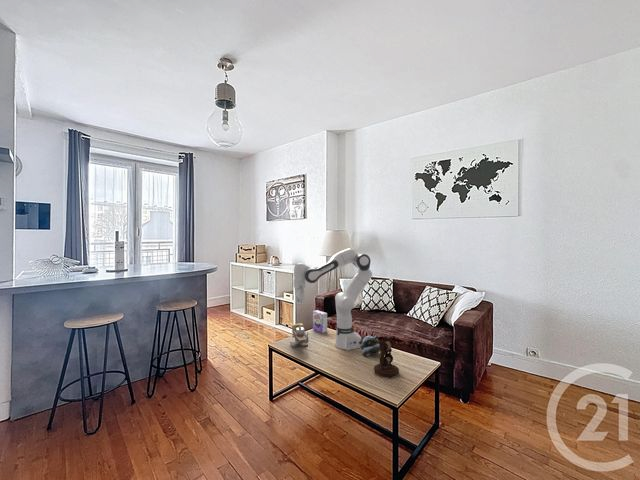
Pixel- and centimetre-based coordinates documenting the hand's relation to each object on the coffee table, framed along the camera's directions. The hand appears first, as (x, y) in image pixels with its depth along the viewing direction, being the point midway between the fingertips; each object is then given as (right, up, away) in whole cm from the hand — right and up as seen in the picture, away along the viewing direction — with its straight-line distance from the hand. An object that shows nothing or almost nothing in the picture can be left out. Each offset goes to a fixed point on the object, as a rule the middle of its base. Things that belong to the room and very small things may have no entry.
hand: (299, 303), depth 224 cm
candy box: (+15, -32, +35) cm, 49 cm away
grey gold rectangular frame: (+1, -32, -4) cm, 32 cm away
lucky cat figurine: (+51, -32, -16) cm, 62 cm away
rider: (+1, -22, -4) cm, 22 cm away
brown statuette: (+55, -33, -44) cm, 78 cm away
